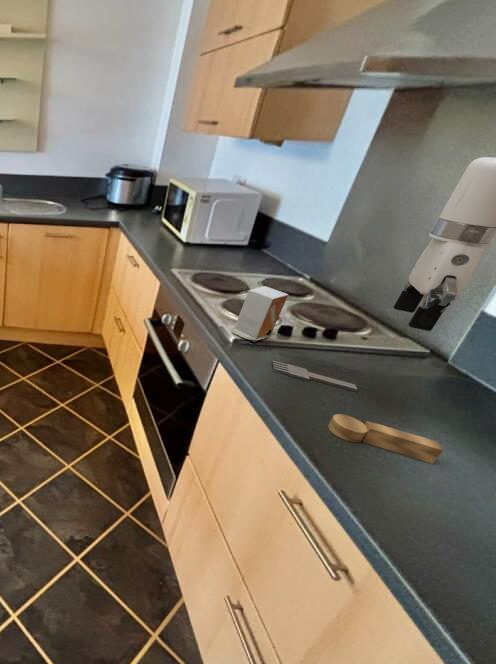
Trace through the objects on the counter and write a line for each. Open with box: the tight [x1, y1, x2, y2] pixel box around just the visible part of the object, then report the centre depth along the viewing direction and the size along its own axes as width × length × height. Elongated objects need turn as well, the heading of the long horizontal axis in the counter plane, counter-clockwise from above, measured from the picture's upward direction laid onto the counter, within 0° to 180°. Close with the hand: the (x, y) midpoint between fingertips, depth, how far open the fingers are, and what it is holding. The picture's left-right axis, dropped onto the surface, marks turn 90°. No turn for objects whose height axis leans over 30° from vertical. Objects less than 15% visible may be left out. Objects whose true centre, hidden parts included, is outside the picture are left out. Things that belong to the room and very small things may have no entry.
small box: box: [233, 285, 289, 339], centre depth 110 cm, size 8×6×13 cm
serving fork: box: [271, 360, 358, 393], centre depth 95 cm, size 16×5×1 cm, turn 61°
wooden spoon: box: [327, 413, 443, 465], centre depth 76 cm, size 15×5×3 cm, turn 61°
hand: (410, 319), depth 81 cm, fingers open, 9 cm apart
